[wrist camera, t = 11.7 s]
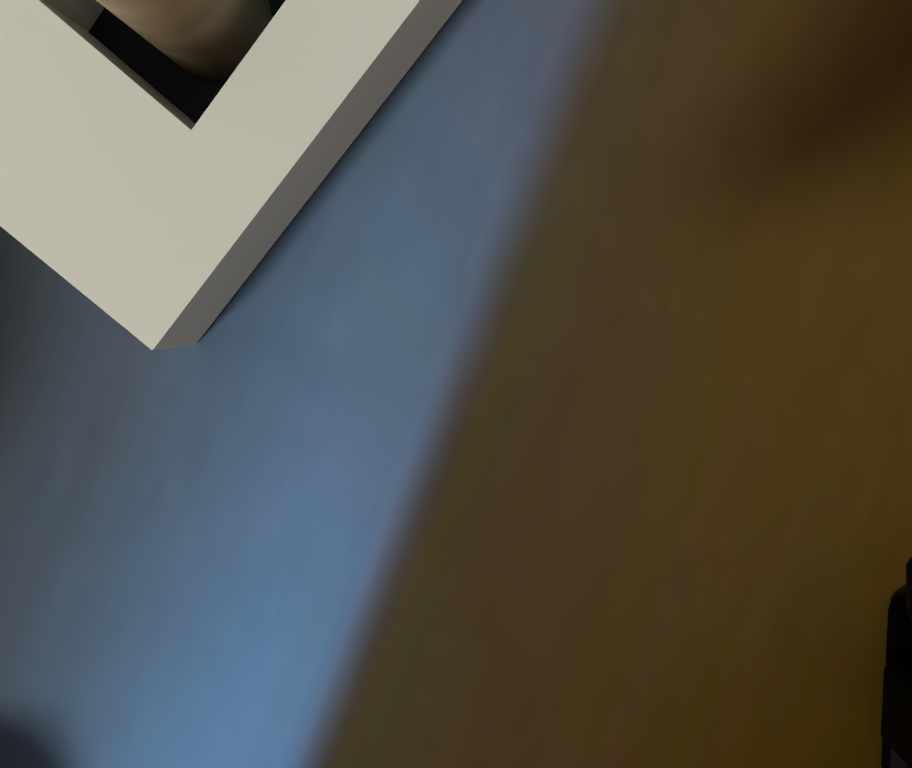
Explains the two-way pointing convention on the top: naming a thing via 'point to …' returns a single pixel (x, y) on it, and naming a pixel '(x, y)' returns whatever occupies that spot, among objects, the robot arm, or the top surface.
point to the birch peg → (197, 30)
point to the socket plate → (184, 150)
